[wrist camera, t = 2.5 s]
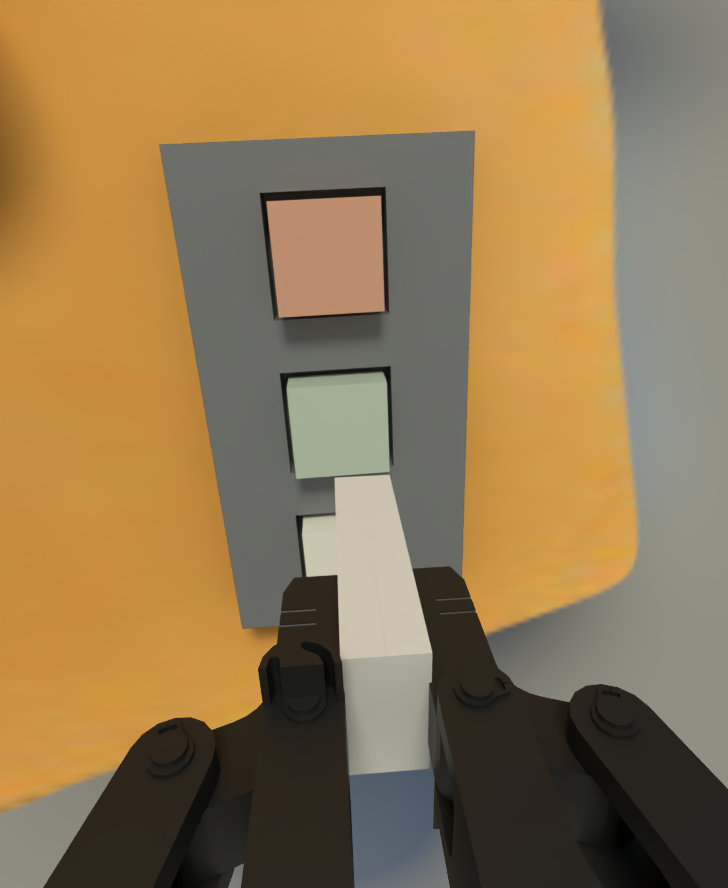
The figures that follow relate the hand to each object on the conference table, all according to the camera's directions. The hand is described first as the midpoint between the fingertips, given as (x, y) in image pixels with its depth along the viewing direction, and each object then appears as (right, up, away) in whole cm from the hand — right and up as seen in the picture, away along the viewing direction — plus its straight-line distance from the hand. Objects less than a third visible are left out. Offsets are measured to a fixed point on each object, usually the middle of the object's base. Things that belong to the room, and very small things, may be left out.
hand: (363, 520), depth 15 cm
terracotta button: (-2, +11, +12) cm, 16 cm away
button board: (-2, +4, +17) cm, 17 cm away
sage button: (-1, +4, +15) cm, 15 cm away
